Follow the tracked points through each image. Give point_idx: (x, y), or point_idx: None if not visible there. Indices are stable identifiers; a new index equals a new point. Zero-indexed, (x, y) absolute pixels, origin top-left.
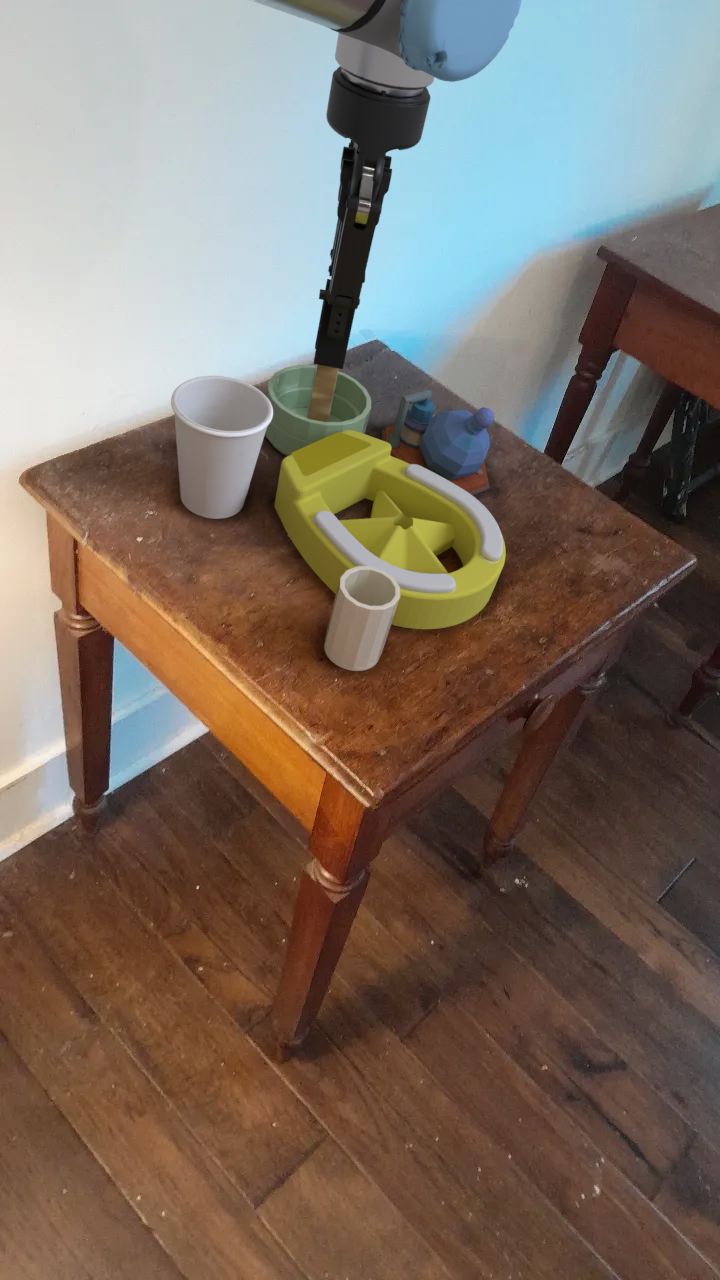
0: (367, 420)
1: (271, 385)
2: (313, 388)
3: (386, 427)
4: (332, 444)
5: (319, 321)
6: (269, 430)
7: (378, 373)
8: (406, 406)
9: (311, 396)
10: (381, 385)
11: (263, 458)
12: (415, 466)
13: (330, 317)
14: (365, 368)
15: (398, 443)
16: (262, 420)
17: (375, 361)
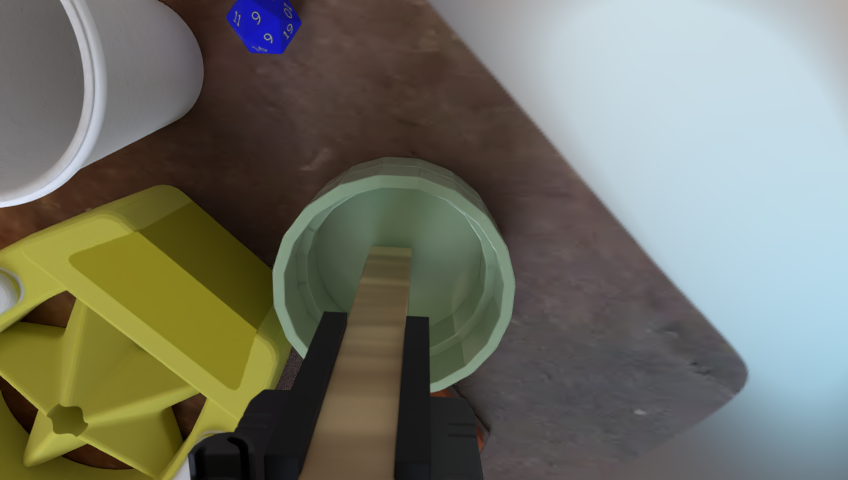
0: None
1: (395, 183)
2: (357, 288)
3: (441, 391)
4: (204, 316)
5: (426, 355)
6: (342, 174)
7: (650, 382)
8: None
9: (362, 277)
10: (607, 385)
11: (302, 160)
12: None
13: (249, 435)
14: (665, 360)
15: None
16: (36, 174)
17: (694, 379)
